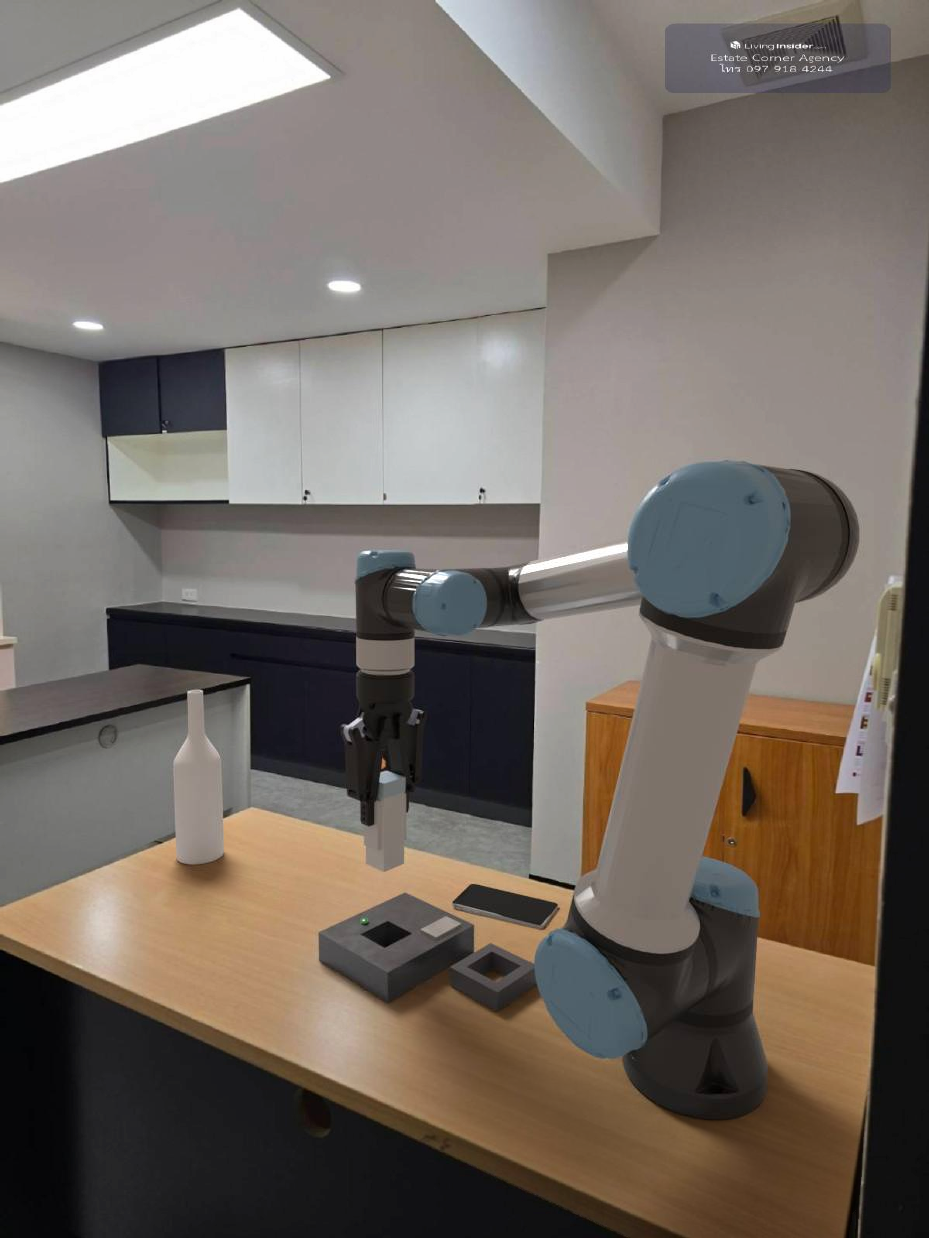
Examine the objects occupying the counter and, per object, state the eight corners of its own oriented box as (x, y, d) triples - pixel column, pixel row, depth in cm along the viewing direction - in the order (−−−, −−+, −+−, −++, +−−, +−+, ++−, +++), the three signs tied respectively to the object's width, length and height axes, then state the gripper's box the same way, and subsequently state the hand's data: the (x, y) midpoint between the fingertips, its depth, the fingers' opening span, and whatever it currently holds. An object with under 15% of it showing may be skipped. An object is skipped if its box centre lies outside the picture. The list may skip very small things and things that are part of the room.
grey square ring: (537, 983, 99) (537, 965, 99) (497, 1011, 94) (497, 992, 93) (490, 960, 105) (490, 942, 104) (449, 985, 99) (449, 966, 99)
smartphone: (541, 926, 113) (450, 903, 119) (541, 933, 113) (450, 910, 119) (559, 902, 120) (472, 882, 126) (558, 910, 120) (471, 889, 127)
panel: (473, 951, 107) (474, 921, 106) (387, 1002, 95) (387, 969, 95) (405, 917, 116) (405, 889, 116) (318, 959, 104) (318, 929, 104)
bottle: (233, 854, 138) (228, 690, 135) (193, 869, 132) (187, 698, 129) (207, 842, 143) (202, 684, 140) (167, 856, 137) (161, 691, 134)
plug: (405, 863, 103) (405, 776, 101) (383, 872, 100) (383, 783, 99) (386, 855, 105) (386, 770, 104) (364, 863, 103) (364, 776, 101)
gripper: (412, 658, 108) (411, 818, 111) (315, 673, 96) (317, 852, 99) (450, 665, 103) (448, 832, 106) (353, 682, 91) (354, 870, 94)
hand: (385, 841), depth 102 cm, fingers closed on plug, 4 cm apart
